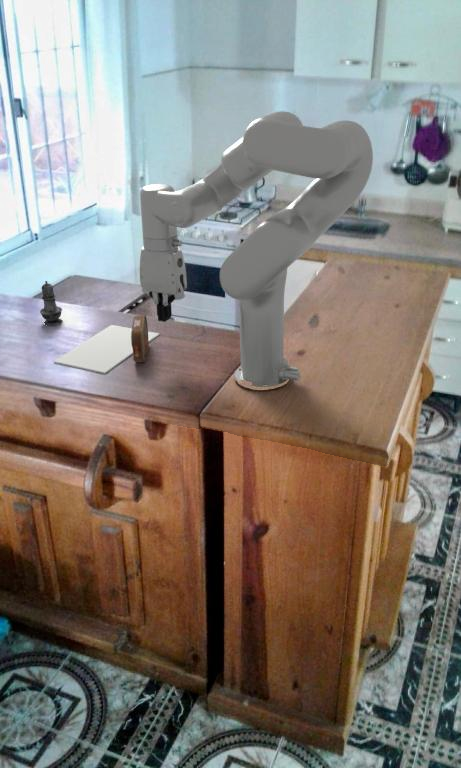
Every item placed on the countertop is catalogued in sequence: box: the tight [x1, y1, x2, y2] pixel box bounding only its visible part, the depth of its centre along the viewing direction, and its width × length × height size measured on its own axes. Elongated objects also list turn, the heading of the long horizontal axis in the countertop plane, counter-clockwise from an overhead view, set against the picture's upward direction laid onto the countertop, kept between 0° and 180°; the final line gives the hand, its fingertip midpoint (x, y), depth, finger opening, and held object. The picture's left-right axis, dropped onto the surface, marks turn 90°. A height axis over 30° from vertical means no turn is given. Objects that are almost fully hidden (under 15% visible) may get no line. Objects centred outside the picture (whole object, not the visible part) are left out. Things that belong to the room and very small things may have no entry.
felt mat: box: [53, 324, 160, 374], centre depth 177 cm, size 15×24×1 cm, turn 154°
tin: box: [131, 314, 149, 363], centre depth 171 cm, size 15×3×8 cm, turn 2°
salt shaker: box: [39, 280, 64, 327], centre depth 190 cm, size 6×6×12 cm
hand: (164, 319), depth 165 cm, fingers closed
